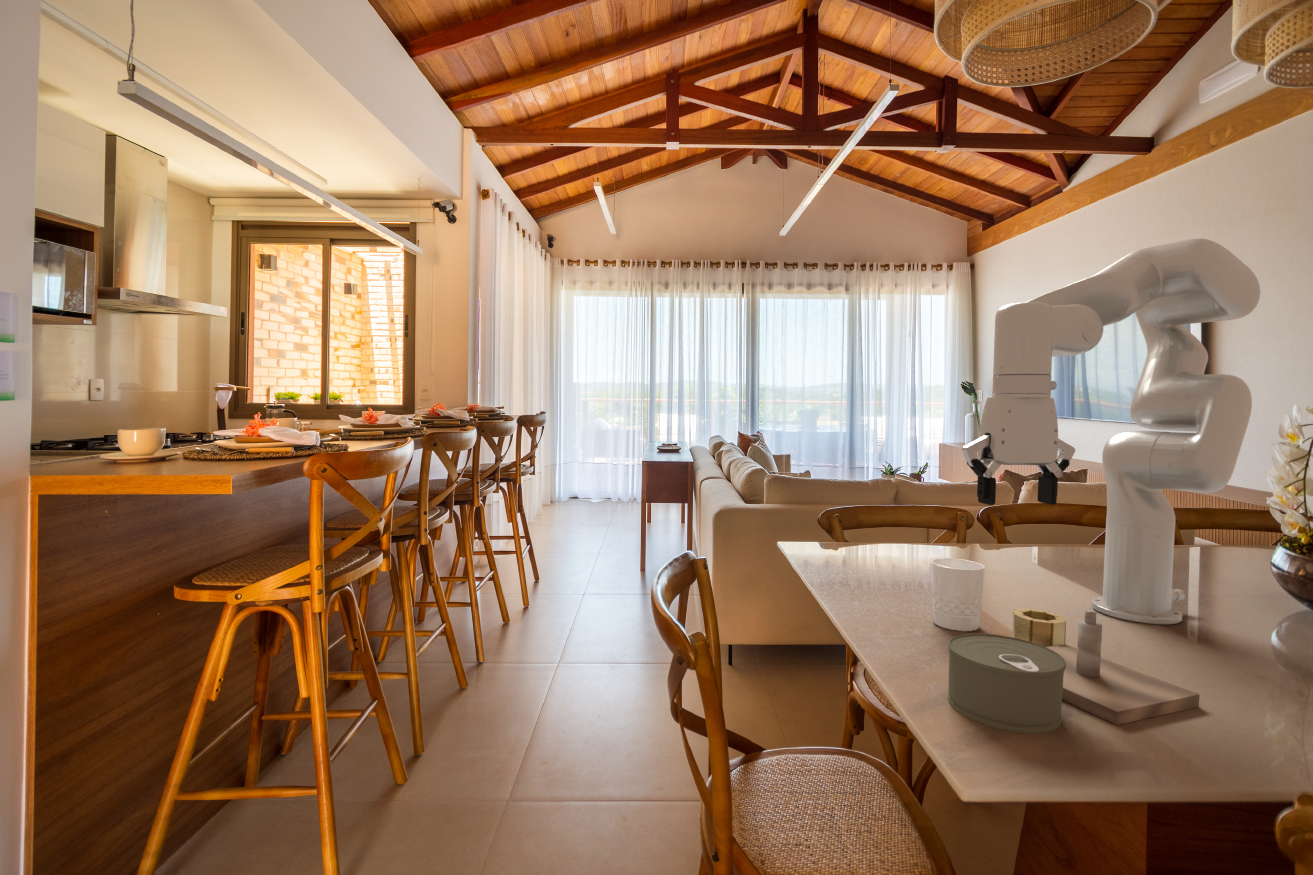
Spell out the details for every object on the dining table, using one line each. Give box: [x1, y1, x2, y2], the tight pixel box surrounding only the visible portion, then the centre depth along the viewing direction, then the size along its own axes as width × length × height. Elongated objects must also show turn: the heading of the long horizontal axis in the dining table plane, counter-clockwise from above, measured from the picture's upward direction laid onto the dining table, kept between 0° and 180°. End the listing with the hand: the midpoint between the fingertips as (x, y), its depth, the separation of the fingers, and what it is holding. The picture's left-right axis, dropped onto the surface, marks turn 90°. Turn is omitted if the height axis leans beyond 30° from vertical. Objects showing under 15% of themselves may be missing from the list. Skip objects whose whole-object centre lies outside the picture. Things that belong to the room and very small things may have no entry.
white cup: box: [930, 557, 986, 632], centre depth 104 cm, size 8×8×10 cm
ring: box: [1012, 608, 1067, 647], centre depth 97 cm, size 7×7×4 cm
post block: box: [1046, 609, 1201, 726], centre depth 82 cm, size 14×17×10 cm
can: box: [947, 633, 1066, 735], centre depth 75 cm, size 12×12×7 cm
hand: (1016, 503), depth 96 cm, fingers open, 9 cm apart
